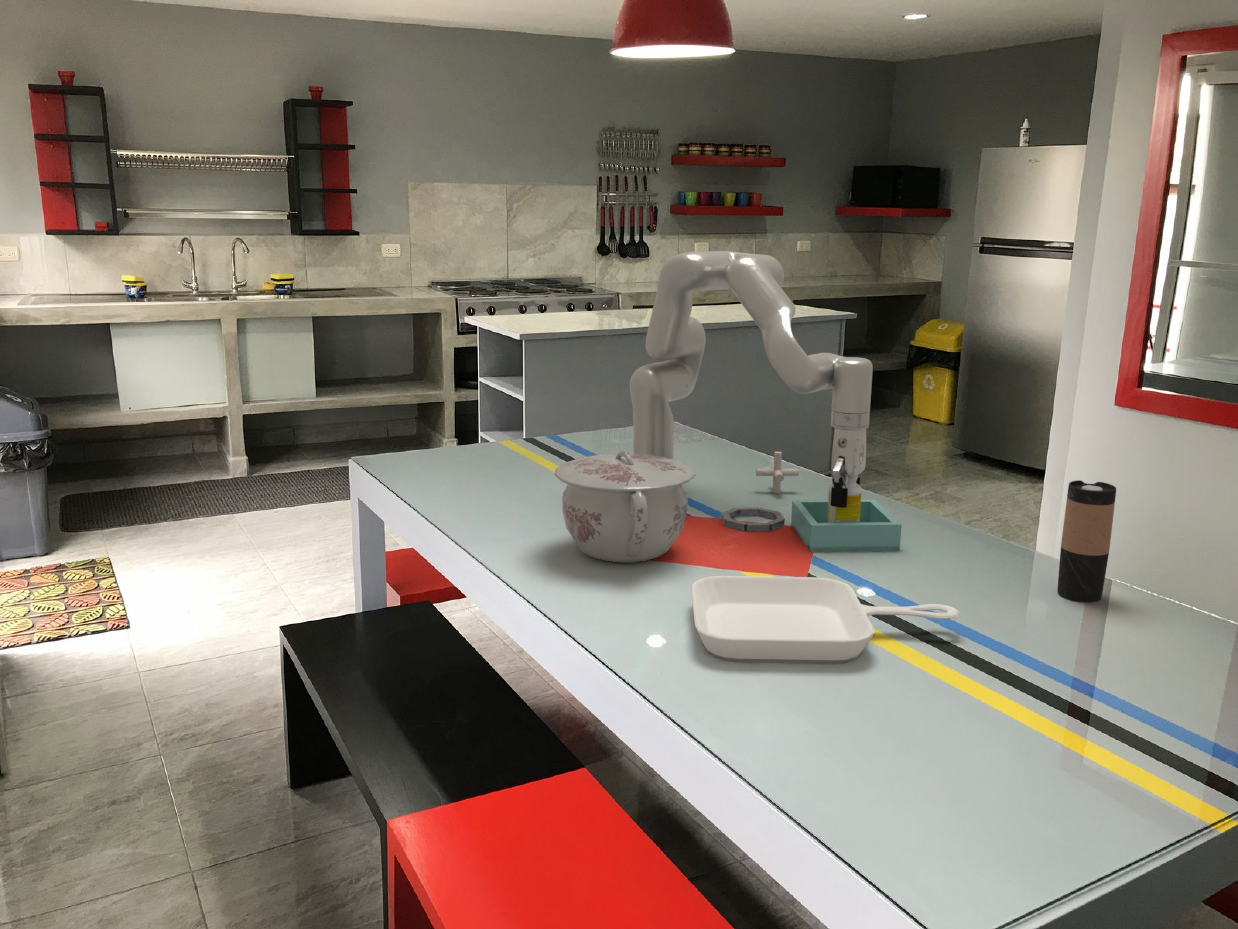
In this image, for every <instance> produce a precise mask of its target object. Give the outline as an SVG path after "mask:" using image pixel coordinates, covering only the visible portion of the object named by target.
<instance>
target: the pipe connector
mask: <svg viewBox="0 0 1238 929" xmlns="http://www.w3.org/2000/svg"><path fill="white" fill-rule="evenodd" d="M782 454H783V452H782V451H774V453H773V464H772V465H771V466H770V468H756V469H755V475H756V477H772V479H773V480H772V494H774V493H775V494H776V495H777V493H778V494H779V495H780V494H781V482H783V481H784V479H785V477H799V474H800V473H799V472H800V471H799V468H782V462H783V461H782V459H783V458H782V457H783V455H782Z"/></svg>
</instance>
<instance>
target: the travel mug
mask: <svg viewBox="0 0 1238 929" xmlns="http://www.w3.org/2000/svg"><path fill="white" fill-rule="evenodd" d="M1066 496H1067V497H1066V503H1065V510H1064V511H1065V512H1064V518H1063V527H1062V534H1061V542H1060V554H1059V565H1058V568H1059V569H1058V578H1057V594H1058V595H1059V596H1060V597H1061V598H1063V599H1066V600H1070V601H1072V602H1079V603H1088V604H1089V603H1097V602H1100V601H1101V600H1102V596H1103V591H1104V585H1105V580H1106V574H1107V567H1108V561H1109V554H1110V549H1111V541H1112V540H1111V538H1112V530H1113V523H1114V522H1113V521H1114V514H1115V513H1114V512H1115V504H1116V496H1117V487H1116V486H1115V485H1113V484H1111V483H1107V482H1102V481H1096V482H1095V483H1087V482H1086V483H1085V482H1084V481H1083V480H1079V479H1078V480H1072V481H1069V483H1068V488H1067V495H1066Z"/></svg>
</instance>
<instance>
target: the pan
mask: <svg viewBox="0 0 1238 929" xmlns="http://www.w3.org/2000/svg"><path fill="white" fill-rule="evenodd" d="M690 591H691V601H692V610H693V612H692V613H693V619H694V626H695V629H696V630H697V633H698V635H699V638H700V639H701V641H702V644H703V645H704V648H705V650H706V651H707V653H708V654H709V655H712V657H714V658H716V659H719V660H723V661H728V662H736V663H780V664H781V663H784V664H785V663H786V664H787V663H790V664H791V663H792V664H795V663H796V664H804V663H805V664H845V663H848V662H852V661H854V660H855V659H857V658H858V657H859V656H860V655H861V653H863V650H864V649H865V648H866V646H867V645H868V643H869V641H870V640H871V639H872V637H873V636H874V626H873V624H872V622H871V621H870V619H869V617H870V616H877V615H878V616H885V615H886V616H911V617H912V616H913V617H919V618H927V619H932V620H933V619H934V620H951V619H954V618H956V617H958V616H959V615H960V612H959V610H958V609H956V608H955V607H953V606H950V605H947V604H946V605H945V604H939V603H927V604H919V605H911V606H874V605H873V606H871V605H867V604H862V603H861V601H860V600H859V598H858V596H857V595H856V593H855V591H854V589H853V587H851V586H850V585H849V584H847V583H845V582H843V581H840V580H836V579H832V578H827V577H816V576H813V577H811V576H810V577H808V576H807V577H805V576H751V575H749V576H744V575H743V576H742V575H741V576H739V575H738V576H737V575H717V576H715V575H714V576H707V577H702V578H699V579H698V580H696V581H694V582H692V585H691V586H690ZM932 611H943V612H944V613H943V612H932Z"/></svg>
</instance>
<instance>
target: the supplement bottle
mask: <svg viewBox="0 0 1238 929" xmlns="http://www.w3.org/2000/svg"><path fill="white" fill-rule="evenodd" d="M842 479H843V482H844V478H842ZM857 479H858V476H856V477H855V478H852V477H851V476H849V478H848V482H847V486H846V488H848V495H847V507H846V508H841V507H834V506H831V488H832V483H831V484H830V485H829V486H828V495H827V496H828V497H827V498H828V499H827V500H828V511H827V523H860V508H861V500H862V493H863V490H862V487H861V485H860V486H859V485H858V484H856V481H857Z"/></svg>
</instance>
